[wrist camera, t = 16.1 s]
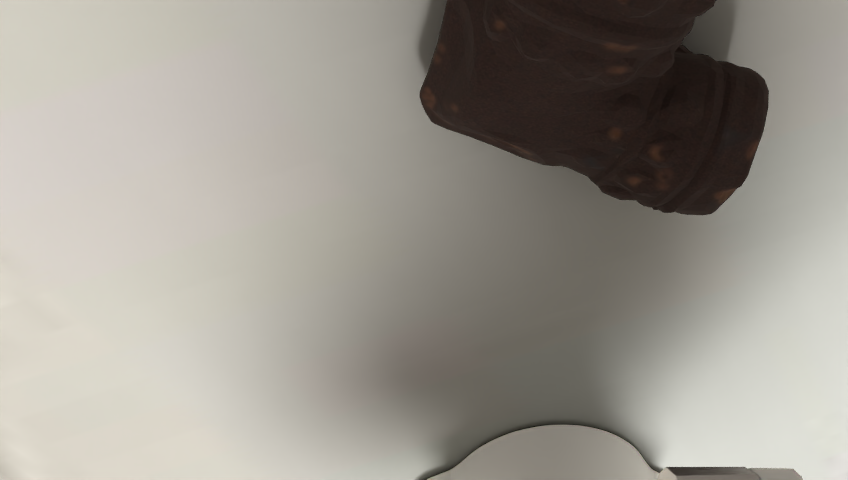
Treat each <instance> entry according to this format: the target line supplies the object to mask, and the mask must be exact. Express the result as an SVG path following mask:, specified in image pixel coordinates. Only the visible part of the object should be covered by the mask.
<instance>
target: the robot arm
mask: <svg viewBox="0 0 848 480" xmlns="http://www.w3.org/2000/svg"><path fill="white" fill-rule="evenodd" d="M427 480H803V479H802V477H801V476H800V475H799V474H798V473H797V472H796V471H795V470H794V469H787V468H749V469H747V468H746V467H666V468H665V469H663V470H662V471H661V472H660V473H658V472H656V471H654V470H652V469H651V468H650V467H649V465H648V464H647V463H646V461H645V460H644V458H643V457H642V456H641V454H640V453H639V452H638V451H637V450H636V449H635V448H634V447H633V446H632V445H631V444H630V443H628V442H627V441H625V440H624V439H622V438H620V437H618V436H616V435H614V434H612V433H609V432H606V431H603V430H600V429H596V428H591V427H586V426H578V425H546V426H538V427H532V428H527V429H523V430H519V431H515V432H512V433H509V434H506V435H504V436H501V437H499V438H496V439H494V440H492V441H490V442H488V443H486V444H485V445H483V446H481V447H480V448H478V449H477V450H475V451H474V452H473V453H471V454H470V455H469V456H468V457H466V458H465V459H464V460H463V461H462V462H461V463H459V464H458V465H457V466H456V467H454V468H452V469H451V470H449V471H446V472H443V473H441V474H438V475H436V476H433V477H431V478H429V479H427Z"/></svg>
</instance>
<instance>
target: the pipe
mask: <svg viewBox="0 0 848 480" xmlns="http://www.w3.org/2000/svg"><path fill="white" fill-rule="evenodd" d="M715 1H716V0H447V3H446V8H445V14H444V18H443V22H442V26H441V31H440V35H439V39H438V43H437V46H436V49H435V52H434V55H433V58H432V61H431V64H430V67H429V70H428V73H427V76H426V78H425V81H424V83H423V85H422V88H421V90H420V99H421V103H422V105H423V108H424V110H425V112H426V113H427V115H428V117H429V118H430V120H431V121H432V122H433V123H434V124H437V125H439V126H441V127H444V128H446V129H449V130H452V131H455V132H458V133H461V134H464V135H467V136H470V137H472V138H475V139H477V140H480V141H482V142H485V143H488V144H490V145H493V146H495V147H498V148H500V149H503V150H505V151H508V152H510V153H512V154H515V155H517V156H519V157H522V158H525V159H528V160H531V161H534V162H537V163H540V164H543V165H550V166H565V167H568V168H570V169H573V170H575V171H577V172H579V173H581V174H583V175H586V176H588V177H589V178H590V180H591V181H592V182H594V183H595V184H596V185H597V186H598V187H599V188H600V190H601V191H602V192H603V193H605V194H608V195H610V196H612V197H615V198H617V199H620V200H637V201H638V202H639V203H640V204H641V205H643V206H647V207H652V208H653V209H654V210H660V211H662V212H663V213H671V212H677V213H680V214H687V215H707V214H711V213H713V212H715V211H716V210H717V209H718V208H719V207H720V206H721V205H722V204H723V203H724V202H725V201H726V200H727V199H728V198H729V197H730V196H731V195H732V194H733V192H734V191H735V190H736V189H737V188H738V187H740V186H741V185H742V184H743V182H744V181H745V179H746V178H747V176H748V173H749V170H750V168H751V165H752V162H753V159H754V156H755V153H756V150H757V148H758V145H759V142H760V139H761V137H762V134H763V131H764V126H765V121H766V116H767V110H768V94H769V91H768V88H767V85H766V83H765V80H764V79H763V78H762V77H761V76H760V75H759V74H758V73H757V72H755V71H753V70H752V69H749V68H745V67H740V66H736V65H734V64H732V63H729V62H724V61H715V60H714V59H712V58H711V57H709V56H707V55H703V54H693V53H692V52H690V51H689V50H688V49H687V48H685V47H684V46H683V45H680V44H681V43H682V41H683V39H684V37H685V36H686V35H687V34H688V33H689V32H690V31H691V29H692V27H693V24H694V20H695V17H696V16H701V15H702V14H703V13H705V12H706V11H707V10H709V9H710V8H711V7H713V6H714V3H715Z"/></svg>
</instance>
